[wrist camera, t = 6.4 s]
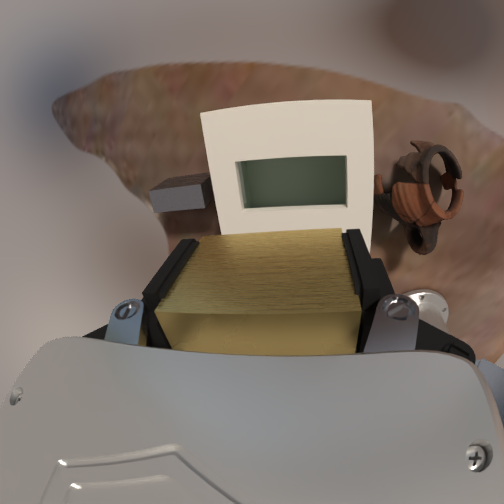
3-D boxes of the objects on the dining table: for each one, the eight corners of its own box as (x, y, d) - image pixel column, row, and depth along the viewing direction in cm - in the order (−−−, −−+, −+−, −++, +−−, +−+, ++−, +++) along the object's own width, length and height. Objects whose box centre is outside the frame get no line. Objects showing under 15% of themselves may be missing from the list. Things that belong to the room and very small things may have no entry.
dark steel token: (218, 192, 31) (205, 207, 27) (172, 197, 33) (154, 212, 28) (215, 171, 30) (200, 184, 26) (168, 178, 31) (148, 191, 27)
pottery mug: (355, 152, 27) (407, 138, 19) (411, 144, 28) (460, 135, 21) (376, 257, 29) (427, 273, 21) (427, 236, 31) (475, 244, 23)
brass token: (340, 277, 12) (352, 366, 8) (214, 281, 13) (179, 362, 9) (341, 227, 11) (361, 310, 7) (202, 236, 12) (154, 311, 8)
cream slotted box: (351, 209, 30) (369, 253, 21) (247, 213, 32) (226, 257, 24) (347, 101, 24) (371, 100, 15) (232, 109, 26) (200, 113, 18)
